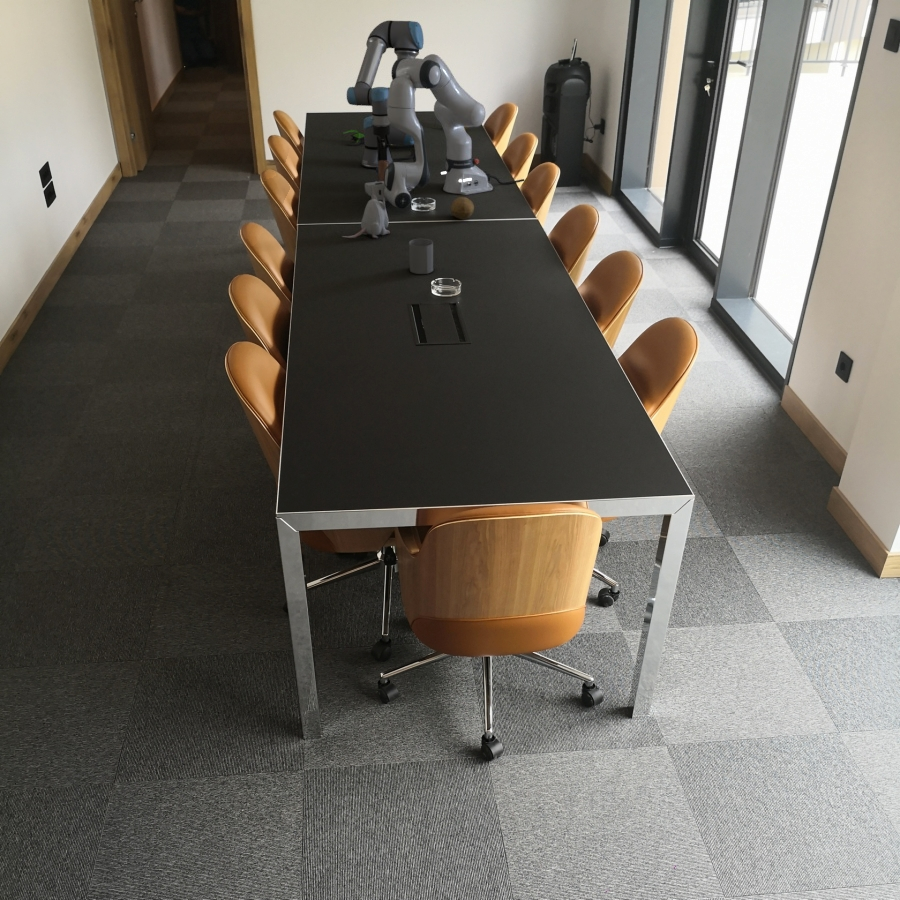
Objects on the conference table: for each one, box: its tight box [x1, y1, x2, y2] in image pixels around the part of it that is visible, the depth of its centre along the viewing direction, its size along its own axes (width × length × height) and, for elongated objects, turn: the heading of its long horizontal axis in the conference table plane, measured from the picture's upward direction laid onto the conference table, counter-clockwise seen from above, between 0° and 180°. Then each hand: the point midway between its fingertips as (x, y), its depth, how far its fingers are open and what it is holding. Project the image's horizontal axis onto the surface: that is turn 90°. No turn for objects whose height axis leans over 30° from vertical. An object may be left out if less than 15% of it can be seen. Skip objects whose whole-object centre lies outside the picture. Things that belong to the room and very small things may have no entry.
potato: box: [450, 196, 475, 220], centre depth 355 cm, size 10×14×8 cm
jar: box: [377, 160, 389, 182], centre depth 379 cm, size 5×5×15 cm
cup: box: [408, 237, 434, 275], centre depth 305 cm, size 8×8×10 cm
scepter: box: [341, 129, 365, 146], centre depth 464 cm, size 6×13×30 cm
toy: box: [341, 194, 391, 239], centre depth 332 cm, size 9×24×15 cm, turn 137°
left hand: (383, 177), depth 397 cm, fingers closed on lid, 6 cm apart
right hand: (383, 181), depth 380 cm, fingers closed on jar, 5 cm apart
